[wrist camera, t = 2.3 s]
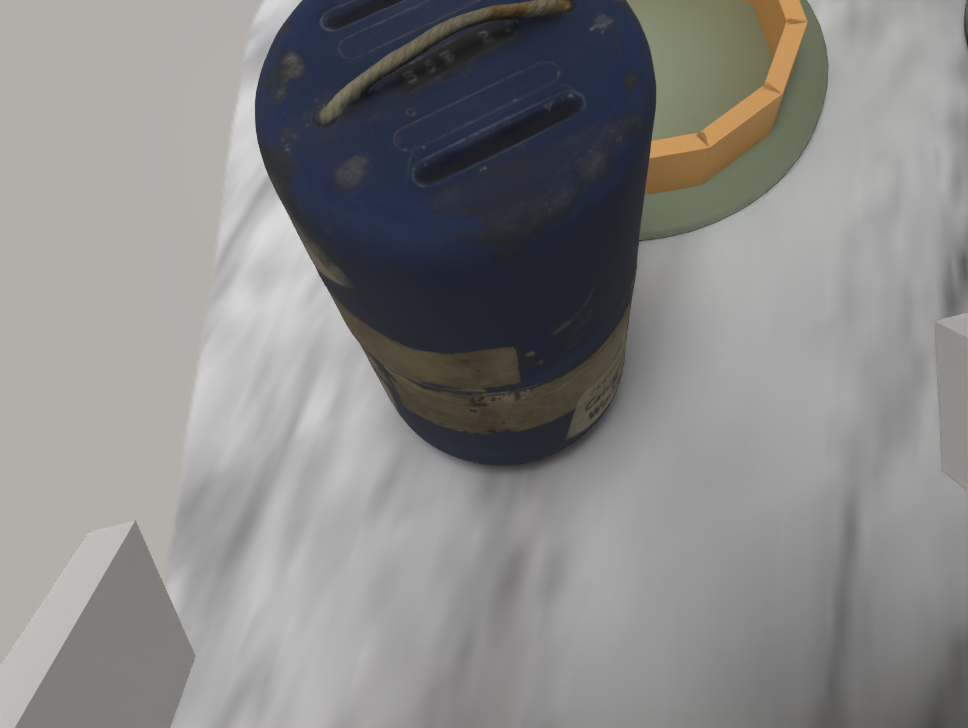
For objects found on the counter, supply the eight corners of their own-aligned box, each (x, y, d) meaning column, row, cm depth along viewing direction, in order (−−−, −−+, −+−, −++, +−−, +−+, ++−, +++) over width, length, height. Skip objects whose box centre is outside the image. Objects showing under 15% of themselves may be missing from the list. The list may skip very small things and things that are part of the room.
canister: (370, 290, 36) (195, -76, 20) (587, 234, 36) (589, -179, 20) (414, 505, 32) (242, 268, 16) (657, 441, 32) (733, 140, 16)
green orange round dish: (636, -120, 44) (640, -183, 41) (912, 80, 38) (940, 23, 35) (353, 66, 41) (335, 13, 38) (598, 320, 35) (599, 280, 32)
